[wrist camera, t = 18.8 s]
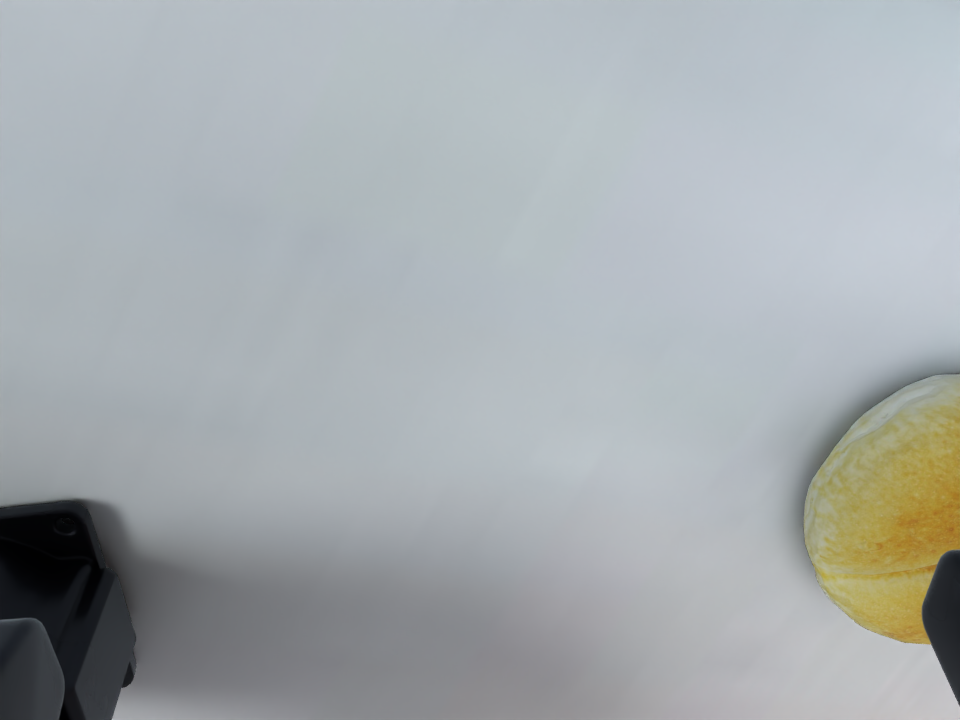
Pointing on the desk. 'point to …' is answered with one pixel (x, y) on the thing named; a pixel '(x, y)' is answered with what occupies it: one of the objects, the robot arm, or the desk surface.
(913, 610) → the bread roll
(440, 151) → the desk surface
